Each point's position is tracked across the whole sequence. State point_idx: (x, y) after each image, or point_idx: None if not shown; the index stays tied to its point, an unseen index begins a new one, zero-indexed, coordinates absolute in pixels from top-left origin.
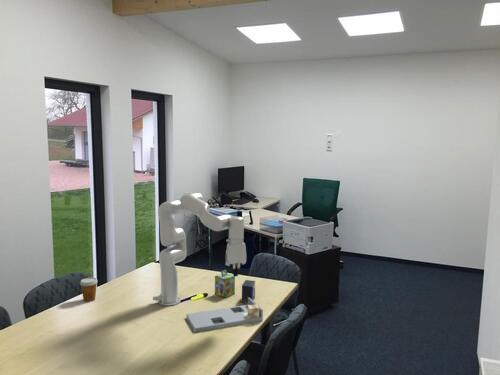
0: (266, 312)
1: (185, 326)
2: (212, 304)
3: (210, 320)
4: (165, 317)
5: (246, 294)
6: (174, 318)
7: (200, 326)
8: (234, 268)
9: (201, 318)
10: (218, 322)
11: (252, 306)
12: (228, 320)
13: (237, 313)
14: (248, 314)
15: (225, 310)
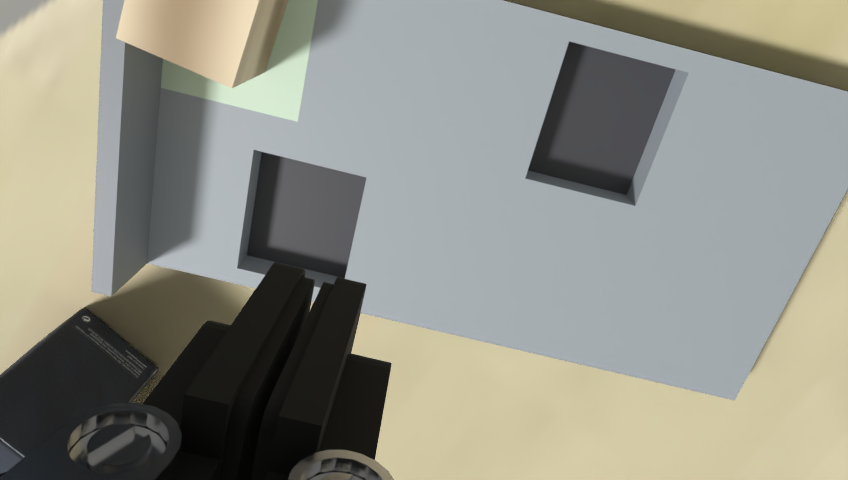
0: (39, 62)
1: (842, 248)
2: (393, 466)
3: (661, 168)
4: (838, 468)
5: (77, 387)
6: (800, 419)
7: (826, 108)
8: (333, 475)
9: (696, 253)
10: (573, 140)
11: (199, 14)
12: (519, 60)
13: (345, 150)
14: (273, 33)
15: (406, 273)
